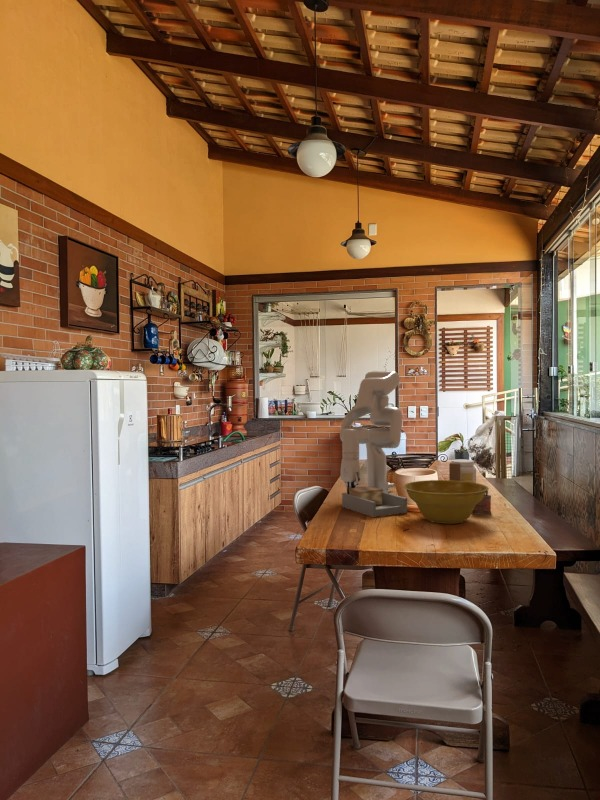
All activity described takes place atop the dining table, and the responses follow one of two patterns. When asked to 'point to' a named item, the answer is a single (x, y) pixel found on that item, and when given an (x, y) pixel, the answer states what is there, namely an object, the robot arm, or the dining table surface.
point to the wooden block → (455, 471)
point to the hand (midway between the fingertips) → (350, 496)
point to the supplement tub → (467, 470)
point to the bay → (388, 506)
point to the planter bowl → (445, 499)
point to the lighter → (483, 505)
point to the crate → (368, 493)
